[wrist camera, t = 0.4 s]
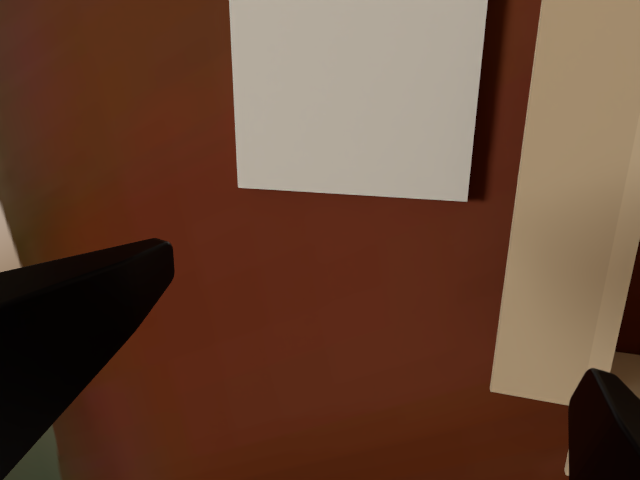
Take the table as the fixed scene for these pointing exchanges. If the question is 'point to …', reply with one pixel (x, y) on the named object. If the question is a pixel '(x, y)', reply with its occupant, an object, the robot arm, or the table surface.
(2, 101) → the table surface
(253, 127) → the white square tile
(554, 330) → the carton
